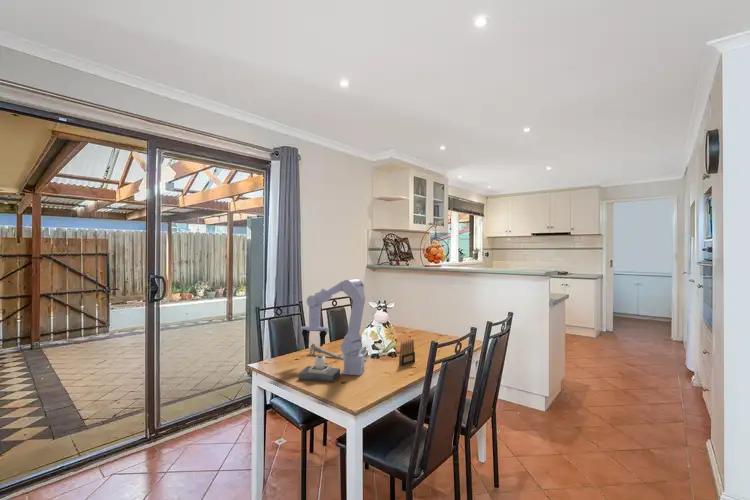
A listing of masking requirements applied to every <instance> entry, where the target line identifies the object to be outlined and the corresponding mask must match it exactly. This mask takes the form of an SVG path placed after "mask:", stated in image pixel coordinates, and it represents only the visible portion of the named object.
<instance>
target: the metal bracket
mask: <svg viewBox="0 0 750 500" xmlns="http://www.w3.org/2000/svg"><path fill="white" fill-rule="evenodd" d="M366 347H367V346H366ZM366 347H365V346H364V347H363V346H362V348H361V349H360V352H359V353H360V354H363V355H364V362H366V361H367V359H368V357H366V355H367V353H368V352H369V351H367V350H366ZM339 356H340V357H339V358H341V359H340V360H343V361H344V354H343V353H342V354H340V355H339Z"/></svg>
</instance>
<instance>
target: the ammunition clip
mask: <svg viewBox="0 0 750 500" xmlns="http://www.w3.org/2000/svg"><path fill="white" fill-rule="evenodd" d="M398 358H399V359H398V360H399V361H398V364H399V366H400V367H404V366H406V364H407V365H409V363H410V364H412V363H411V362H413V363H415V362H416V352H415V341H414V338H411V339H408V340H405V341H401V342H400V347H399V357H398ZM403 365H404V366H403Z"/></svg>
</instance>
